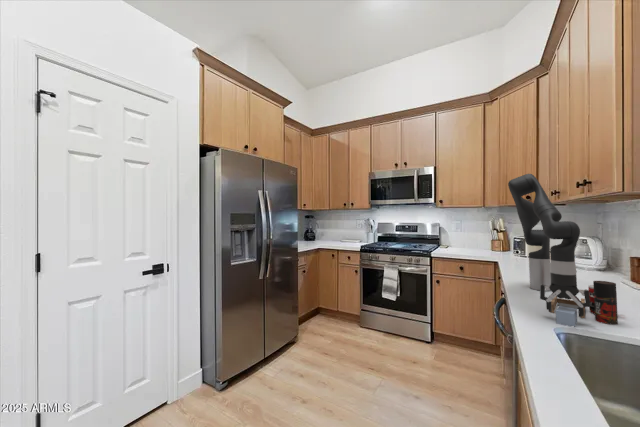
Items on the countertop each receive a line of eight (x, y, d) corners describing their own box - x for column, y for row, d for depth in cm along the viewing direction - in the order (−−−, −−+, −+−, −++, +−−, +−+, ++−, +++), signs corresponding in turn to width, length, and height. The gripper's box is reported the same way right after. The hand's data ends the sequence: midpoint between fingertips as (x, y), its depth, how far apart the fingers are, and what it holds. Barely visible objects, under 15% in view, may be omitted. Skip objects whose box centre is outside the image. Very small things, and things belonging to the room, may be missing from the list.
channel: (554, 301, 125) (553, 294, 125) (585, 306, 117) (584, 298, 117) (550, 312, 111) (549, 304, 112) (584, 318, 104) (584, 309, 104)
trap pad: (558, 303, 122) (558, 302, 123) (579, 306, 117) (579, 305, 117) (557, 305, 119) (557, 305, 119) (579, 309, 114) (579, 308, 114)
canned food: (591, 309, 114) (590, 283, 114) (619, 314, 108) (618, 287, 108) (587, 313, 110) (586, 286, 110) (615, 318, 103) (614, 290, 103)
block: (560, 318, 105) (559, 305, 105) (577, 321, 101) (576, 308, 102) (556, 323, 100) (556, 310, 100) (574, 327, 96) (574, 313, 96)
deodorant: (591, 319, 103) (589, 281, 103) (600, 317, 104) (599, 280, 105) (612, 325, 97) (610, 284, 97) (621, 323, 99) (619, 283, 99)
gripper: (538, 271, 105) (539, 312, 105) (588, 276, 95) (590, 321, 94) (540, 268, 110) (542, 307, 110) (589, 273, 100) (590, 315, 100)
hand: (564, 313), depth 102 cm, fingers open, 8 cm apart
